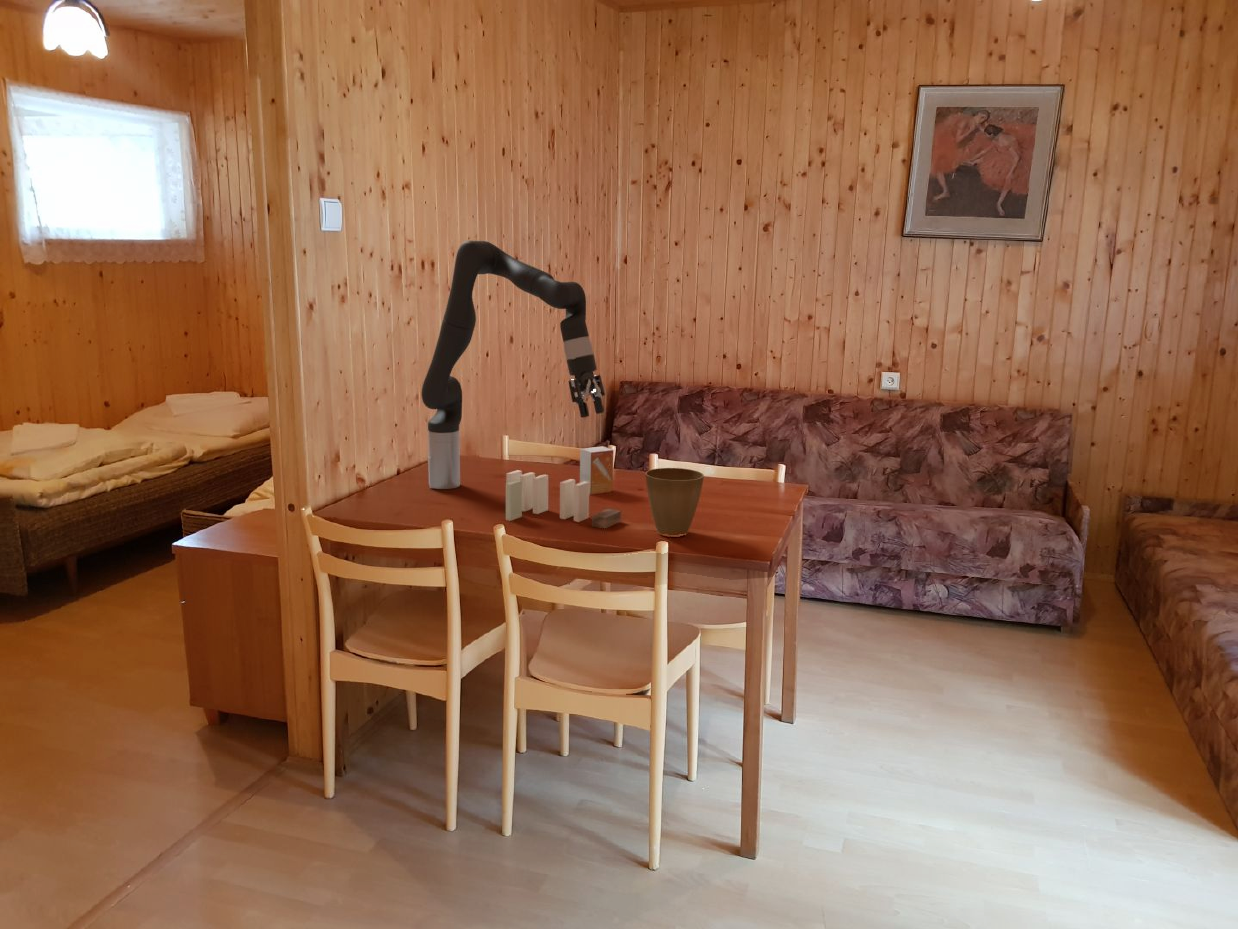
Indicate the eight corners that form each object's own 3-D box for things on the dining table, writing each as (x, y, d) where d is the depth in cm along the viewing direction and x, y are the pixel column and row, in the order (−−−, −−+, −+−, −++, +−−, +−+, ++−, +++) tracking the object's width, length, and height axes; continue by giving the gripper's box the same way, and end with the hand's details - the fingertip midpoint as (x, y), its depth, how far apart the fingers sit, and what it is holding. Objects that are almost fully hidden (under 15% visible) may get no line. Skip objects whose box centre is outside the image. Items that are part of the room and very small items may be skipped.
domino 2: (505, 519, 260) (505, 483, 257) (517, 515, 264) (516, 480, 262) (510, 520, 259) (510, 484, 257) (521, 516, 263) (521, 480, 261)
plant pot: (706, 542, 244) (708, 480, 240) (647, 542, 243) (648, 480, 239) (696, 525, 258) (698, 466, 255) (641, 525, 257) (642, 466, 253)
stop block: (591, 526, 255) (592, 515, 255) (607, 519, 262) (608, 508, 261) (604, 528, 253) (605, 517, 253) (620, 521, 260) (620, 511, 259)
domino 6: (573, 521, 260) (573, 484, 258) (583, 516, 264) (584, 481, 262) (578, 521, 259) (579, 485, 257) (588, 517, 263) (589, 482, 261)
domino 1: (506, 508, 271) (506, 473, 269) (517, 504, 275) (517, 470, 273) (511, 509, 270) (511, 474, 268) (522, 505, 275) (521, 470, 272)
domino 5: (559, 518, 262) (560, 482, 260) (570, 514, 266) (570, 478, 264) (564, 519, 261) (564, 483, 259) (574, 515, 266) (575, 479, 263)
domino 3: (519, 510, 269) (519, 475, 267) (530, 506, 273) (530, 472, 271) (524, 511, 268) (524, 476, 266) (534, 507, 272) (535, 473, 270)
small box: (590, 495, 287) (590, 452, 284) (579, 490, 292) (579, 448, 289) (613, 491, 291) (613, 449, 288) (601, 487, 296) (602, 445, 293)
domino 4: (532, 513, 267) (532, 477, 264) (543, 509, 271) (543, 474, 269) (537, 514, 266) (537, 478, 264) (548, 510, 270) (548, 475, 268)
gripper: (580, 357, 267) (593, 414, 269) (554, 360, 255) (568, 420, 256) (604, 351, 264) (616, 409, 265) (578, 354, 251) (592, 415, 253)
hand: (592, 415), depth 261 cm, fingers open, 8 cm apart
